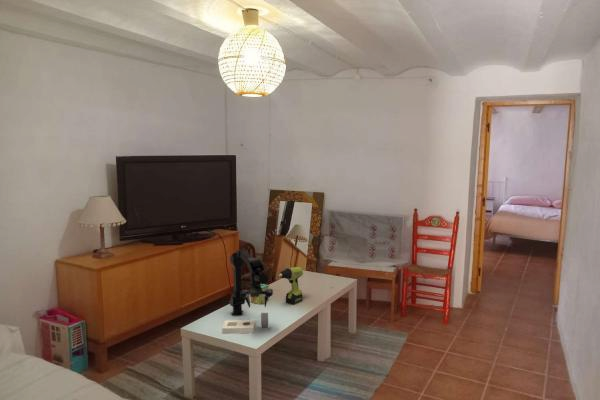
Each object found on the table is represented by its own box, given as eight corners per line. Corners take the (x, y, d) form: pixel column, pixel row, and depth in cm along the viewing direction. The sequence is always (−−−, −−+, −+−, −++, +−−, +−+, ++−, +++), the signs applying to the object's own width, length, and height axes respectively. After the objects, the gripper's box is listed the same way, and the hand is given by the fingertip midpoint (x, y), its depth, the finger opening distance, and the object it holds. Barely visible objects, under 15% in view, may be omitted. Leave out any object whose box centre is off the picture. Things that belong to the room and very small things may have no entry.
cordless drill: (283, 309, 288) (282, 272, 285) (275, 307, 292) (274, 271, 289) (304, 299, 306) (304, 264, 303) (296, 297, 310) (296, 263, 307)
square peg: (261, 325, 263) (261, 312, 262) (268, 325, 263) (268, 312, 262) (261, 328, 259) (260, 315, 258) (268, 328, 259) (267, 315, 258)
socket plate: (225, 325, 265) (225, 320, 264) (255, 324, 265) (255, 319, 265) (222, 333, 253) (222, 328, 252) (253, 332, 253) (253, 327, 253)
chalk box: (250, 302, 302) (250, 282, 300) (258, 298, 310) (257, 278, 308) (262, 304, 297) (261, 283, 296) (269, 300, 306) (268, 280, 304)
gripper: (237, 285, 248) (238, 312, 249) (269, 283, 247) (271, 311, 247) (241, 280, 259) (242, 306, 260) (272, 279, 258) (274, 305, 259)
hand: (257, 307), depth 256 cm, fingers open, 9 cm apart
